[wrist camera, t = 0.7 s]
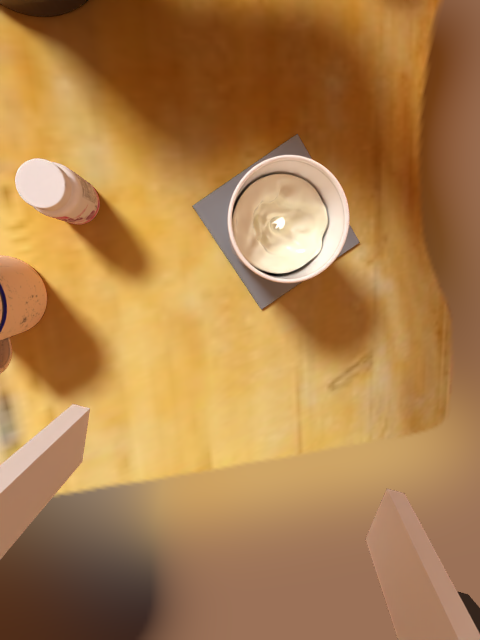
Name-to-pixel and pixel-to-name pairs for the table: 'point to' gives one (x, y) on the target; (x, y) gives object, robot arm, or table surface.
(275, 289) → the gray tile
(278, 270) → the candle holder
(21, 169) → the pill bottle
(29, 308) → the teacup with lid
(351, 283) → the table surface
